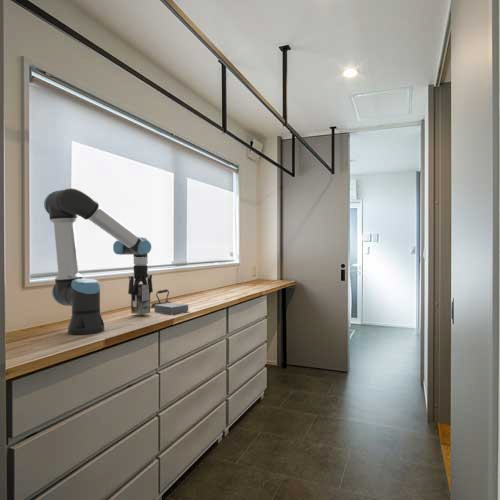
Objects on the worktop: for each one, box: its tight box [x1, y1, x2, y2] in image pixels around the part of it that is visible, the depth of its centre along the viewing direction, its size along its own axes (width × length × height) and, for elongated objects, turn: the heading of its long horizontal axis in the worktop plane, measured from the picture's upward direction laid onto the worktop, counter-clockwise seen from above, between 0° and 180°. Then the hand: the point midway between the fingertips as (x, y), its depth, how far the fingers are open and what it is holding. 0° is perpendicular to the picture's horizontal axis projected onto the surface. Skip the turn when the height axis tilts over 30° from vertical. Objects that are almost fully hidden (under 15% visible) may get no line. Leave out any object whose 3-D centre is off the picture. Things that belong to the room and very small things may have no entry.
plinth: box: [154, 302, 189, 315], centre depth 216 cm, size 12×16×4 cm
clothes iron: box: [150, 288, 172, 309], centre depth 237 cm, size 14×10×11 cm
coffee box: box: [130, 283, 151, 315], centre depth 206 cm, size 9×6×16 cm
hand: (140, 305), depth 206 cm, fingers closed on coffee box, 7 cm apart
